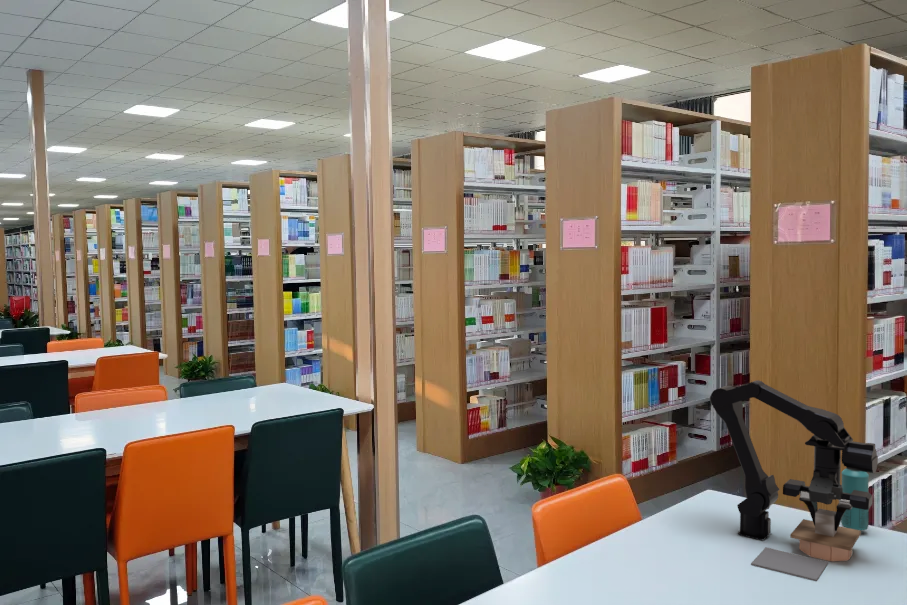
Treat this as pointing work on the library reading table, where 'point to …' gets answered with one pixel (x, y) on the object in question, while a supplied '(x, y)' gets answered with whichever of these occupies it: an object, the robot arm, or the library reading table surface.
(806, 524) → the lid
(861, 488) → the beverage bottle
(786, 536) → the library reading table surface
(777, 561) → the mat
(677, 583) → the library reading table surface
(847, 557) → the bowl
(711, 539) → the library reading table surface
